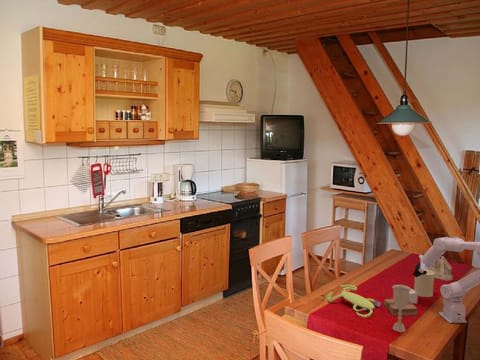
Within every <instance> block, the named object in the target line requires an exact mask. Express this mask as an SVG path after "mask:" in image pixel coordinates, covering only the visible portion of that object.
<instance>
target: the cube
mask: <svg viewBox="0 0 480 360" xmlns="http://www.w3.org/2000/svg"><path fill="white" fill-rule="evenodd" d="M409 301H410V302H411V303H412V304H418V293H417V292H416V291H414V288H413V289H412V288H411V290H410V292H409Z"/></svg>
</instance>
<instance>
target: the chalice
mask: <svg viewBox="0 0 480 360" xmlns="http://www.w3.org/2000/svg"><path fill="white" fill-rule="evenodd" d="M411 289H412V288H411V287H410V286H407V285H404V284H395V285H392V290H393V294H392V299H393V300H394V303H395V305H396V307H397V309H399V313H398V314H399V315H397V320H398V321H397V322H395V323H394V324H393V326H392V329H393V331H396V332H400V333H403V332H406V327H405V325H404V323H402V319H403V315H402V312H401V311H402V310H403V309H404V308H405V307H406V305H407V303H408V301H409V292H410V290H411Z"/></svg>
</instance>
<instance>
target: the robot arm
mask: <svg viewBox="0 0 480 360" xmlns="http://www.w3.org/2000/svg"><path fill="white" fill-rule="evenodd" d="M464 250H467V251H469V250H470V251H476V255H477V256H479V258H480V241H465V240H464V239H463V238H459V236H453V237H449V236H445V237H444V236H443V237H438V238H435V239H434V240H433V243H432V246H430V247H429V249H428V250H427V251H426V252H424V253H422V254H419V255H418V258H419V263H416V265H415V266H414V268H415V269H414V271H413V273H412V276H413V277H414V278H415V277H418V276H420V275H425V274H427V271H425V270H426V269H428V268H430V267H431V266H433V264H434V263H435V262H436V261H437V260H438V259H441V257H442V256H443V255H444V254H445V253H446V252H447V251H448V252H458V253H459V252H463V251H464ZM478 285H480V268H479V269H477V270H475V271H473V272H472V273H469V274H468V275H466V276H465V277H462V278H461V279H459V280H457V281H454V282H451V283H449V284H442V285H441V286H440V294H441V296H442V298H443V306H442V311H441V312H438V314H439V315H440V316H441V317H442V318H443V319H444V320H445V321H446V322H448V323H449V324H450V323H452V324H453V323H454V324H455V323H462V324H463V323H465V324H466V323H467V322H468V321H467V320H466V314H467V312H466V311H467V308H466V306H465V305H464V303H463V299H464V297H465V296H466V295H467V294H468V292H470V291H471V289H473V288H475V287H476V286H478Z"/></svg>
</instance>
